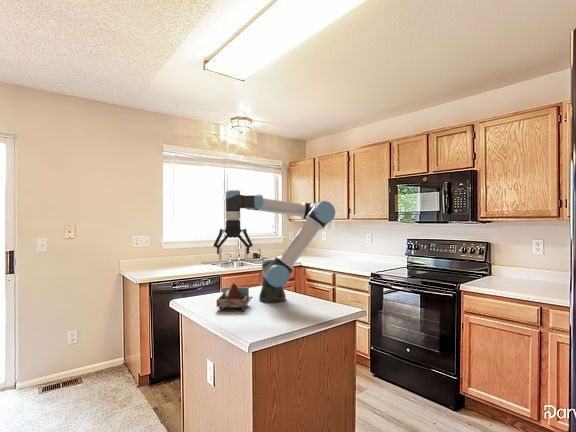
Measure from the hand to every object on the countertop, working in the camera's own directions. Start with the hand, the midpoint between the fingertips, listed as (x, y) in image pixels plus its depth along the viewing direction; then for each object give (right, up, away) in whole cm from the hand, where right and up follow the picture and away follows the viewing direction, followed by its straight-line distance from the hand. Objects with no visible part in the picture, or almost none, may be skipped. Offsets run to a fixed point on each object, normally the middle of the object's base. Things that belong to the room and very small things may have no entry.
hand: (233, 260), depth 172 cm
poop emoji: (0, -22, +1) cm, 22 cm away
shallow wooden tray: (0, -25, 0) cm, 25 cm away
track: (0, -25, +8) cm, 26 cm away
